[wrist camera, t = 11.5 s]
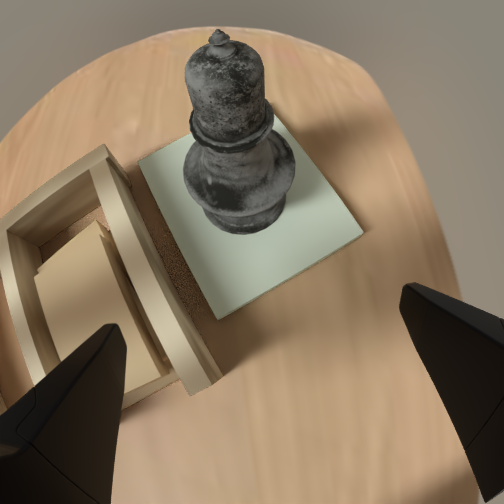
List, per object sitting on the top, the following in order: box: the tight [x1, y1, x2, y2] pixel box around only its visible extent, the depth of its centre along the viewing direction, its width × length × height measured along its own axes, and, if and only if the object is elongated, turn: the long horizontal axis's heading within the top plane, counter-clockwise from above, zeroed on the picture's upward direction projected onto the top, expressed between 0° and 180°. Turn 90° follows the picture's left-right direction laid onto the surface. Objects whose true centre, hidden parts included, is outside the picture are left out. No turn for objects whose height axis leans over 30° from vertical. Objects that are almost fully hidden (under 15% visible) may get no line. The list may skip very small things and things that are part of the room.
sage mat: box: [138, 114, 364, 320], centre depth 20 cm, size 12×10×1 cm
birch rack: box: [0, 144, 223, 415], centre depth 17 cm, size 15×19×4 cm
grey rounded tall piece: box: [183, 29, 296, 235], centre depth 14 cm, size 6×6×12 cm
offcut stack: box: [34, 220, 180, 410], centre depth 17 cm, size 10×6×4 cm, turn 32°
